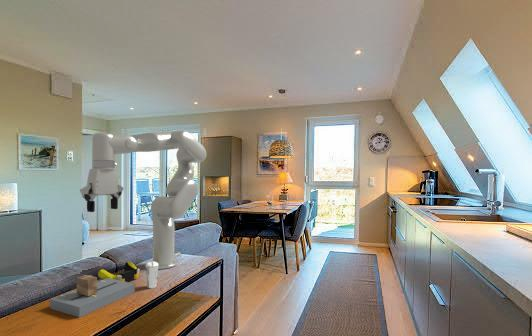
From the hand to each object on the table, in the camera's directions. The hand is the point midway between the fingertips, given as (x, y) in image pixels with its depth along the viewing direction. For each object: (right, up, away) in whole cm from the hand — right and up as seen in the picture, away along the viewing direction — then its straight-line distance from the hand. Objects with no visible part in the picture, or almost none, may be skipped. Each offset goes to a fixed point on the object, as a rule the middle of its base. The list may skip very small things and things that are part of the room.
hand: (102, 210), depth 111 cm
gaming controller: (+5, -29, +5) cm, 30 cm away
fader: (+4, -25, -16) cm, 30 cm away
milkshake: (+20, -29, -3) cm, 35 cm away
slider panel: (+5, -28, -14) cm, 32 cm away
